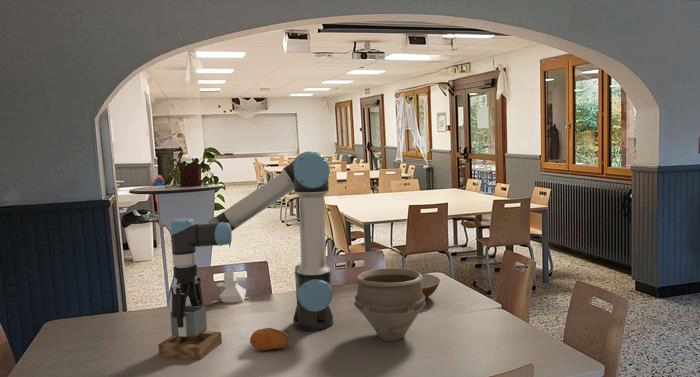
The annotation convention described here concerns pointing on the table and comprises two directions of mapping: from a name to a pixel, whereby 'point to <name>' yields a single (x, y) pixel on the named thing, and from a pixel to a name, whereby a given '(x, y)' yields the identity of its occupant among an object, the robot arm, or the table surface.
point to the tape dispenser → (232, 288)
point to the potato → (269, 339)
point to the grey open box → (191, 321)
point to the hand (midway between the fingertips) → (189, 331)
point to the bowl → (429, 284)
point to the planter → (390, 300)
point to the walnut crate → (190, 345)
